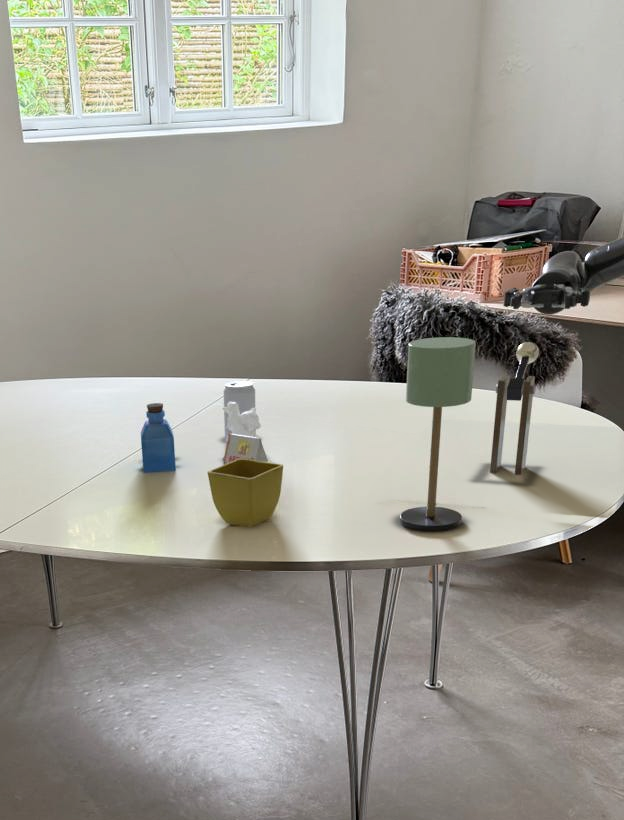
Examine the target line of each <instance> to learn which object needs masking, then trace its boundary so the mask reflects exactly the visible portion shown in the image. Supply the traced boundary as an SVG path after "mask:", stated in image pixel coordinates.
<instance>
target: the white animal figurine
mask: <svg viewBox="0 0 624 820" xmlns="http://www.w3.org/2000/svg"><path fill="white" fill-rule="evenodd" d="M227 407H228V408H227ZM227 407H224V406H223V407H222V411H223V412H224V411H225V412H226V413H228V415H229V416H228V423H227V428H228V429H229V430H231V431H232V434H237V435H243V436H250V437H253V436H254V434H255V431H254V430H256V431H257V430H258V429H260V428H261V427H262V425H261V423H260V418H259V415H258V414H257V413H256V410H257V408H256V407H255V408H252V409H251V410H250V411H246V412H243V413H242V414H241V415H240V411H239V406H238V403H236V402H231V401H230V402H228V404H227ZM227 442H228V436H227V441H226V443H227Z"/></svg>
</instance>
